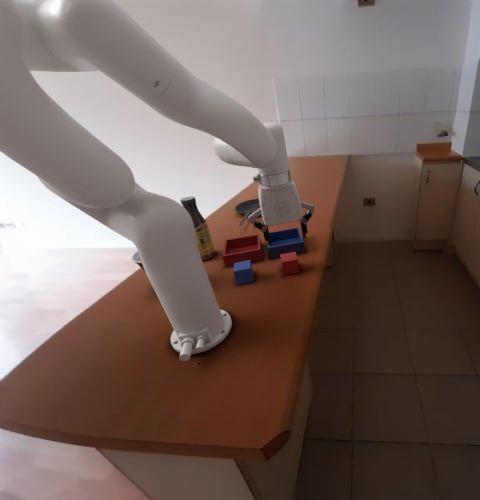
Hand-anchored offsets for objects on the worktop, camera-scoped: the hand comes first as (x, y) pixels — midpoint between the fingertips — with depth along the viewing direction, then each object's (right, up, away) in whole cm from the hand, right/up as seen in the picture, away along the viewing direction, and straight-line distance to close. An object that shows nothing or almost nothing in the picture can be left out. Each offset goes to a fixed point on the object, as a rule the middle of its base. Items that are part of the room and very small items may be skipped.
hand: (287, 239), depth 77 cm
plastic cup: (-33, -13, +2) cm, 36 cm away
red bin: (-16, -5, +14) cm, 22 cm away
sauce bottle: (-29, -5, +15) cm, 33 cm away
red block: (0, -9, +5) cm, 10 cm away
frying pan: (-22, +11, +42) cm, 48 cm away
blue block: (-12, -11, +2) cm, 17 cm away
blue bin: (-3, -2, +16) cm, 17 cm away
